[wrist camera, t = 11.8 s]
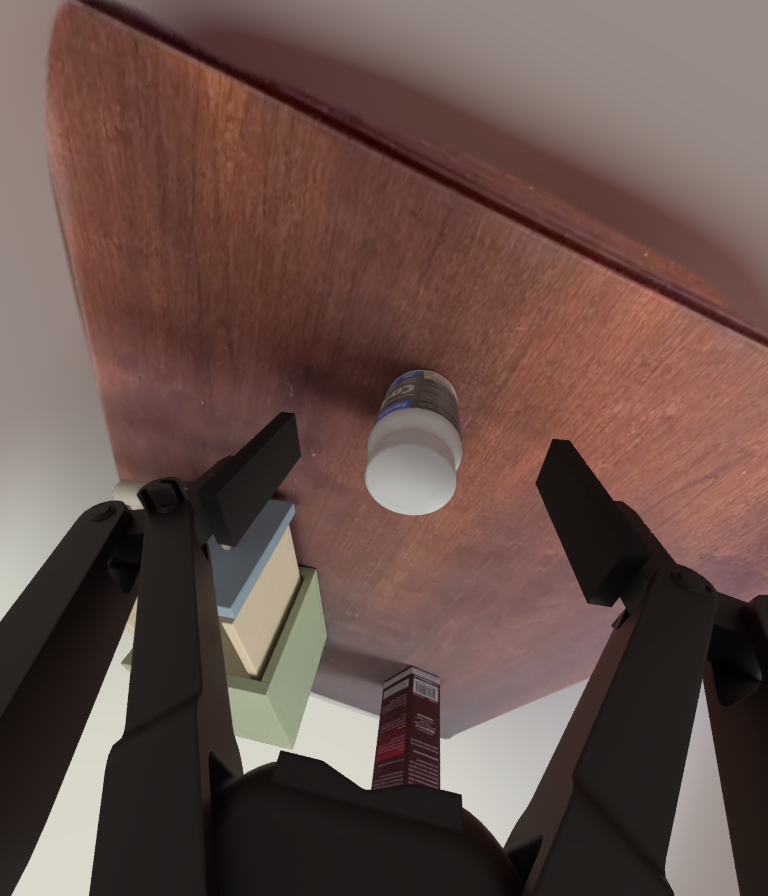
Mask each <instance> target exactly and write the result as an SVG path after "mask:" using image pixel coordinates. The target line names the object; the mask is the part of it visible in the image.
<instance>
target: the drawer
mask: <svg viewBox="0 0 768 896" xmlns="http://www.w3.org/2000/svg"><path fill="white" fill-rule="evenodd" d="M146 484H147V483H146V482H139V481H132V480H124V481H121V482H119V483H118V484H117V485H116V486H115V488H114V489H113V492H112V497H113V499H114V501H115V500H119V501H122V502H124V503H125V505H130V507H131V509H132V510H137V509H144V508H143V506H142V504H141V502H140V501H139V499H138V497H137V495H136V494H137V492H138V490H139V489H140V488H142V487H143V486H144V485H146ZM184 489H185V490H186V489H188V488H184ZM294 514H295V507H294V503H291V502H284V501H276V500H269V501H268V502H267V504H266V505H265V506H264V508H263V509H262V511H261V512H260V513H259V515H258V516H257V517H256V519H255V520H254V522H253V523H252V524H251V526H250V527H249V528H248V530H247V531H246V533H245V534H244V535H243V537H242V538H241V540H240V541H239V542H238V544H237V545H236V546H235V547H233V546H227V545H220V544H217V541H216V539H215V537H214V534H213V535H212V536H211V537H210V539H209V540H208V541H207V543H208V545H209V548H210V555H211V563H212V571H213V578H214V586H215V593H216V601H217V609H218V616H219V624H220V632H221V639H222V647H223V655H224V662H225V670H226V674H229V675H233V676H238V677H242V678H247V679H252V680H256V681H261V680H262V678H263V676H264V673H265V671H266V669H267V666H268V664H269V662H270V659H271V657H272V655H273V652H274V650H275V647H276V645H277V643H278V640H279V638H280V636H281V633H282V631H283V629H284V626H285V624H286V622H287V619H288V617H289V615H290V612H291V610H292V607H293V605H294V603H295V600H296V598H297V596H298V593H299V591H300V589H301V586H302V583H301V579H300V574H299V569H298V565H297V560H296V555H295V551H294V546H293V541H292V537H291V532H290V527H289V523H290V521H291V520H292V518H293V516H294ZM137 601H138V597H137V599H136V601H135V604H134V606H133V609H132V611H131V614H130V616H129V619H128V621H127V624H126V626H125V628H126V630H127V631H128V632H129V633H130V634H131V635H132V636H133V637H134V631H135V621H136V611H137Z"/></svg>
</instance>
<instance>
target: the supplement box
mask: <svg viewBox="0 0 768 896" xmlns="http://www.w3.org/2000/svg"><path fill="white" fill-rule="evenodd" d="M413 783H416V784H420V785H424V786H428V787H432V788H436V789H440V679H439V678H438V677H436V676H434V675H431V674H429V673H427V672H424V671H422V670H420V669H417V668H415V667H411V668H409V669H408V670H406V671H404V672H403V673H401V674H399V675H398V676H396V677H394V678H392V679H391V680H389V681H387V682H386V683H384V687H383V695H382V704H381V712H380V721H379V730H378V738H377V746H376V755H375V763H374V772H373V779H372V787H371V790H372V789H379V788H386V787H392V786H399V785H406V784H413Z"/></svg>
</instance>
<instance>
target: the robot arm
mask: <svg viewBox="0 0 768 896" xmlns="http://www.w3.org/2000/svg"><path fill="white" fill-rule="evenodd" d="M300 457H301V453H300V446H299V439H298V433H297V426H296V419H295V413H287V412H281V413H280V414H278V415H277V416H276V417H275V418H274V419H273V420H272V421H271V422H270V423H269V424H268V425H267V426H266V427H265V428H263V429H262V430H261V431H260V432H259V433H258V434H257V435H256V436H255V437H254V438H253V439H252V440H251V441H250V442H248V443H247V444H246V445H245V446H244V447H243V448H242V449H241V450H240V451H239V452H238V453H237V454H236V455H235V456H232V455H229V456H227V457H225V458H223V459H221V460H219V461H218V462H217V463H216V464H214V465H213V466H212V467H211V469H209V470H208V471H207V472H205V473H204V475H202V476H201V477H200V478H199V479H198V480H196V481H195V482H194V483H193V484H192V485H191V486H190V487H189V488H188V489H186V490H185V489H184V487H183V485H182V483H181V481H180V479H178V478H176V477H165V478H160V479H157V480H154V481H151V482H149V483H147V484H146V485H144V486H143V487H142V488H140V489H139V490H138V492H137V494H136V495H137V497H138V499H139V501H140V502H141V504H142V506H143V508H144V509H137V510H128V508H127V506H126V505H125V503H124V502H122V501H119V500H115V501H107V502H104V503H100V504H98V505H95V506H93V507H91V508H90V509H88V510H86V511H85V512H84V513H83V514H82V515H81V516H80V517H79V518H78V519H77V521H76V522H75V523H74V524H73V526H72V527H71V529H70V530H69V531H68V532H67V534H66V535H65V537H64V538H63V539H62V541H61V542H60V543H59V544H58V546H57V547H56V549H55V550H54V551H53V553H52V554H51V555H50V556H49V558H48V559H47V560H46V562H45V563H44V564H43V566H42V567H41V568H40V570H39V571H38V572H37V574H36V575H35V576H34V578H33V579H32V580H31V582H30V583H29V584H28V586H27V587H26V588H25V590H24V591H23V592H22V594H21V595H20V596H19V598H18V599H17V600H16V602H15V603H14V604H13V605H12V607H11V608H10V609H9V611H8V612H7V613H6V615H5V616H4V618H3V619H2V620H1V622H0V896H11V895H12V893H13V891H14V889H15V887H16V885H17V883H18V881H19V880H20V878H21V876H22V874H23V872H24V870H25V868H26V866H27V864H28V862H29V860H30V857H31V855H32V853H33V851H34V849H35V846H36V844H37V842H38V840H39V837H40V835H41V833H42V831H43V828H44V826H45V824H46V822H47V819H48V817H49V814H50V812H51V809H52V807H53V804H54V802H55V799H56V797H57V794H58V792H59V789H60V787H61V785H62V782H63V780H64V777H65V774H66V772H67V770H68V767H69V765H70V762H71V760H72V757H73V755H74V752H75V749H76V747H77V745H78V742H79V740H80V738H81V735H82V733H83V730H84V728H85V725H86V722H87V720H88V718H89V715H90V713H91V710H92V708H93V705H94V703H95V700H96V698H97V695H98V693H99V690H100V688H101V686H102V683H103V681H104V678H105V675H106V673H107V671H108V668H109V666H110V663H111V661H112V658H113V656H114V653H115V651H116V648H117V646H118V644H119V641H120V639H121V636H122V634H123V631H124V629H125V626H126V624H127V621H128V619H129V616H130V614H131V611H132V609H133V606H134V604H135V601H136V599H137V597H138V601H137V611H136V621H135V631H134V643H133V652H132V662H131V673H130V683H129V693H128V703H127V714H126V724H125V730H124V733H123V736H122V738H121V739H120V740H119V741H117V742H116V743H115V744H114V745H113V746H112V749H111V751H110V753H109V756H108V760H107V764H106V769H105V776H104V783H103V792H102V799H101V806H100V814H99V822H98V830H97V838H96V845H95V853H94V861H93V869H92V877H91V885H90V892H89V896H674V892H673V890H672V888H671V887H670V885H669V883H668V881H667V879H666V877H665V862H666V856H667V851H668V846H669V841H670V836H671V831H672V827H673V822H674V817H675V812H676V807H677V802H678V797H679V792H680V787H681V782H682V777H683V772H684V767H685V762H686V757H687V753H688V747H689V742H690V737H691V733H692V727H693V723H694V718H695V713H696V708H697V703H698V698H699V693H700V688H701V683H702V679H703V683H704V689H705V694H706V700H707V705H708V712H709V718H710V723H711V729H712V735H713V741H714V747H715V753H716V758H717V764H718V770H719V776H720V782H721V787H722V793H723V799H724V805H725V810H726V816H727V822H728V828H729V834H730V839H731V845H732V851H733V857H734V863H735V869H736V874H737V880H738V886H739V891H740V896H768V595H758V596H756V597H755V598H753V599H752V600H751V601H750V602H749V603H747V602H744V601H742V600H739V599H736V598H733V597H730V596H728V595H725V594H722V593H719V592H717V591H716V589H715V588H714V587H713V585H712V584H711V583H710V582H709V581H708V580H706V579H705V578H704V577H703V576H702V575H700V574H698V573H697V572H695V571H694V570H692V569H690V568H687V567H685V566H682V565H679V564H676V562H675V561H674V560H673V559H672V557H671V556H670V555H669V554H668V552H667V551H666V550H665V548H664V547H663V546H662V545H661V543H660V542H659V541H658V540H657V538H656V537H655V536H654V534H653V533H651V532H650V529H649V528H648V527H647V526H646V524H644V522H643V520H642V519H641V518H640V517H639V515H638V514H637V513H636V512H635V511H634V510H633V509H632V508H630V507H629V506H628V505H626V504H625V503H624V502H622V501H613V499H612V498H611V497H610V495H609V494H608V492H607V491H606V490H605V488H604V487H603V486H602V484H601V483H600V481H599V480H598V479H597V477H596V476H595V475H594V473H593V472H592V470H591V469H590V468H589V466H588V465H587V464H586V462H585V461H584V460H583V458H582V457H581V455H580V454H579V453H578V451H577V450H576V449H575V447H574V446H573V444H572V443H571V442H570V440H560V439H553V440H552V442H551V445H550V447H549V450H548V452H547V455H546V458H545V460H544V463H543V465H542V468H541V471H540V473H539V476H538V478H537V481H536V485H537V488H538V490H539V492H540V495H541V497H542V499H543V502H544V504H545V506H546V509H547V511H548V513H549V516H550V518H551V520H552V522H553V525H554V527H555V529H556V532H557V534H558V536H559V539H560V541H561V543H562V546H563V548H564V550H565V553H566V555H567V557H568V559H569V562H570V564H571V566H572V569H573V571H574V573H575V576H576V578H577V580H578V583H579V585H580V587H581V590H582V592H583V594H584V597H585V599H586V601H587V603H588V604H595V605H601V606H607V607H612V606H613V605H614V603H615V602H616V601H617V599H618V598H619V597H620V598H621V600H622V602H623V604H624V605H625V607H626V608H625V610H624V611H623V612H622V613H621V614H620V616H619V617H618V618H617V619H616V620H615V622H614V623H613V624H612V625H611V626H612V627H613V628H614V629H613V632H612V634H611V636H610V638H609V640H608V642H607V644H606V646H605V648H604V650H603V652H602V654H601V656H600V659H599V661H598V663H597V665H596V667H595V669H594V671H593V673H592V675H591V677H590V679H589V682H588V684H587V686H586V688H585V690H584V692H583V694H582V696H581V698H580V700H579V702H578V704H577V707H576V708H575V711H574V713H573V715H572V717H571V719H570V721H569V723H568V725H567V727H566V729H565V731H564V734H563V736H562V738H561V740H560V742H559V744H558V746H557V748H556V750H555V752H554V754H553V756H552V759H551V760H550V763H549V765H548V767H547V769H546V771H545V773H544V775H543V777H542V779H541V781H540V783H539V785H538V787H537V790H536V792H535V794H534V796H533V798H532V800H531V802H530V803H529V805H528V807H527V809H526V810H525V811H524V813H523V814H522V816H521V817H520V819H519V820H518V822H517V823H516V825H515V827H514V829H513V830H512V832H511V834H510V836H509V838H508V840H507V842H506V844H505V846H504V848H502V847H501V845H500V844H499V843H498V842H497V840H496V839H495V837H494V836H493V835H492V834H491V832H490V831H489V830H488V829H487V828H486V827H485V826H484V825H483V824H482V823H481V822H480V821H479V820H478V819H477V818H476V817H475V816H473V815H472V814H471V813H470V812H469V811H467V810H466V809H464V808H463V807H462V795H461V794H457V793H453V792H449V791H445V790H440V789H436V788H432V787H428V786H424V785H420V784H416V783H413V784H406V785H399V786H392V787H386V788H379V789H372V790H365V789H362V788H361V787H359V786H358V785H356V784H355V783H354V782H352V781H351V780H349V779H348V778H346V777H345V776H344V775H342V774H341V773H339V772H338V771H337V770H335V769H333V768H332V767H331V766H329V765H328V764H327V763H325V762H324V761H322V760H318V759H314V758H310V757H306V756H302V755H297V754H294V753H289V752H285V751H280V754H279V757H278V760H277V762H271V763H268V764H265V765H262V766H259V767H257V768H255V769H253V770H251V771H249V772H247V773H246V774H243V767H242V761H241V757H240V752H239V749H238V745H237V742H236V739H235V735H234V730H233V724H232V716H231V708H230V701H229V693H228V685H227V678H226V670H225V662H224V655H223V647H222V639H221V632H220V624H219V616H218V609H217V601H216V593H215V586H214V578H213V571H212V563H211V555H210V548H209V545H208V543H207V541H208V540H209V539H210V537H211V536H212V535H213V534H214V537H215V539H216V541H217V544H220V545H227V546H233V547H235V546H236V545H237V544H238V542H239V541H240V540H241V538H242V537H243V535H244V534H245V533H246V531H247V530H248V528H249V527H250V526H251V524H252V523H253V522H254V520H255V519H256V517H257V516H258V515H259V513H260V512H261V511H262V509H263V508H264V506H265V505H266V504H267V502H268V501H269V499H270V498H271V497H272V495H273V494H274V493H275V491H276V490H277V488H278V487H279V486H280V484H281V483H282V481H283V480H284V479H285V477H286V476H287V475H288V473H289V472H290V470H291V469H292V468H293V466H294V465H295V463H296V462H297V461H298V459H299V458H300Z"/></svg>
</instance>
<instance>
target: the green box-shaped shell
mask: <svg viewBox="0 0 768 896" xmlns="http://www.w3.org/2000/svg"><path fill="white" fill-rule="evenodd" d="M298 569H299V574H300V579H301V583H302V586H301V589H300V591H299V593H298V596H297V598H296V600H295V603H294V605H293V607H292V610H291V612H290V615H289V617H288V619H287V622H286V624H285V626H284V629H283V631H282V633H281V636H280V638H279V640H278V643H277V645H276V647H275V650H274V652H273V655H272V657H271V659H270V662H269V664H268V666H267V669H266V671H265V673H264V676H263V678H262V680H261V681H256V680H252V679H247V678H242V677H238V676H233V675H229V674H226V678H227V685H228V693H229V701H230V708H231V716H232V724H233V730H234V735H235V736H238V737H242V738H246V739H250V740H254V741H258V742H263V743H267V744H271V745H275V746H279V747H283V748H287V749H291V750H292V749H293V747H294V744H295V740H296V737H297V733H298V731H299V727H300V724H301V721H302V717H303V714H304V711H305V707H306V704H307V701H308V697H309V694H310V691H311V687H312V684H313V681H314V677H315V674H316V671H317V668H318V664H319V661H320V658H321V654H322V651H323V648H324V644H325V641H326V637H327V633H326V627H325V621H324V615H323V609H322V602H321V596H320V590H319V584H318V578H317V572H316V569H313V568H307V567H301V566H298ZM132 652H133V648H132V650H131V651H130V653H129V654H128V655H127V656H126V657H125V659H124V660H123V661H122V662H121V664H122V665H123V666H124V667H125V668H126V669H127V670H128V671H129V672H130V673H131V662H132Z"/></svg>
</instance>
